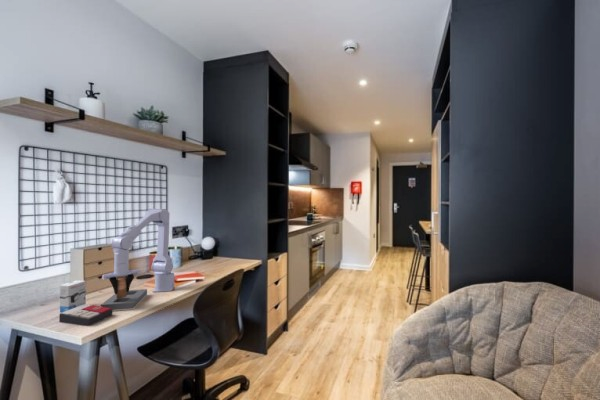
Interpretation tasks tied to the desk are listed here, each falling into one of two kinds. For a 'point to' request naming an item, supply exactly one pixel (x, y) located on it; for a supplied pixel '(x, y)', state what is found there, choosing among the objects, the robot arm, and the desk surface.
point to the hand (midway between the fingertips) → (121, 292)
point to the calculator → (85, 315)
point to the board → (125, 300)
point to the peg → (121, 288)
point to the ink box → (72, 295)
